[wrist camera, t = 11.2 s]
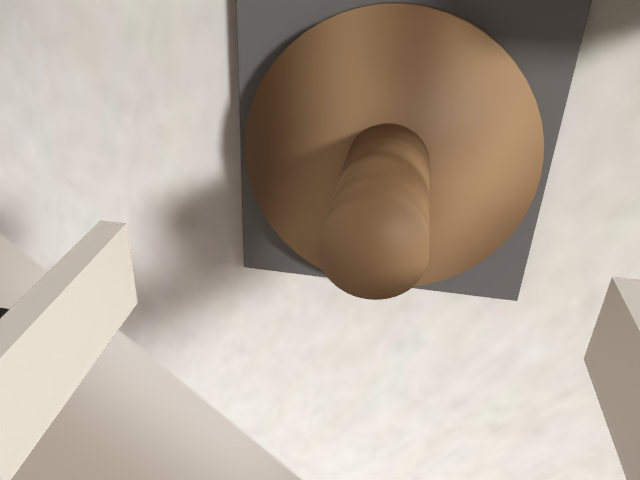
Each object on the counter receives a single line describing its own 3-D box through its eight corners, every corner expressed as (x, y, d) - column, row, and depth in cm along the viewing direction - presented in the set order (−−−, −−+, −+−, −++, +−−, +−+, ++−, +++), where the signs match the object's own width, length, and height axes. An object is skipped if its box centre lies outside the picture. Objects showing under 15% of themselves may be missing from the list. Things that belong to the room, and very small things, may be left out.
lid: (252, 260, 31) (191, 377, 23) (247, -8, 24) (160, 26, 16) (507, 291, 29) (536, 428, 21) (573, 12, 23) (649, 62, 15)
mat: (247, 261, 31) (244, 266, 31) (240, -24, 24) (236, -23, 24) (515, 294, 30) (517, 300, 29) (588, -4, 23) (591, -2, 22)
